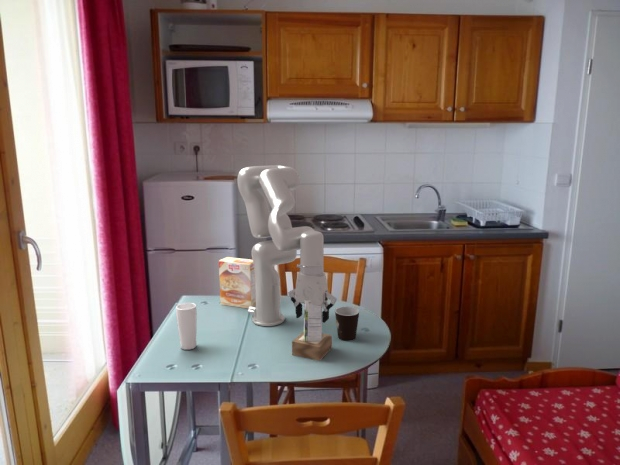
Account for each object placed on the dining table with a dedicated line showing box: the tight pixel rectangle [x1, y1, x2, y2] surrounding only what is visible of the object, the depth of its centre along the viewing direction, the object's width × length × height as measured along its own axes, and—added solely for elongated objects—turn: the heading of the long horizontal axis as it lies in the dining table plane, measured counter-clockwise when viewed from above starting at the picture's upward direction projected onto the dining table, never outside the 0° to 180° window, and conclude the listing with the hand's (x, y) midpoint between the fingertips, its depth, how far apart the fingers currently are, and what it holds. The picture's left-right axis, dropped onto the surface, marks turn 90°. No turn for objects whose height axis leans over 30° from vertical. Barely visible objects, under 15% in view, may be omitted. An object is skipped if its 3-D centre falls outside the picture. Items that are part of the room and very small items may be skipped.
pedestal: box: [291, 331, 333, 362], centre depth 165 cm, size 10×10×5 cm
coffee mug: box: [334, 306, 360, 342], centre depth 177 cm, size 12×9×10 cm
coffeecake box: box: [218, 256, 256, 310], centre depth 207 cm, size 15×7×20 cm, turn 68°
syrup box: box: [303, 300, 323, 341], centre depth 163 cm, size 6×6×14 cm
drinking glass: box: [175, 302, 198, 351], centre depth 168 cm, size 7×7×15 cm
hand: (312, 318), depth 163 cm, fingers open, 9 cm apart
